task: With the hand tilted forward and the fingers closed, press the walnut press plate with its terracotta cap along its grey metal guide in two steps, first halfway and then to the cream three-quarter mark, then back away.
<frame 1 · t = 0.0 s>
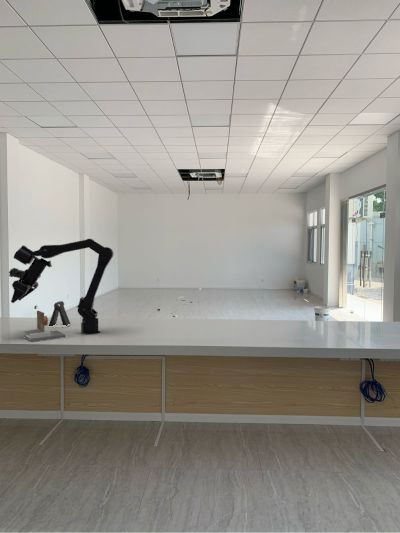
hand: (15, 301, 171), 15 cm above the table, tool tilted 35°, fingers open, 9 cm apart
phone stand: (59, 326, 192), on the table
press plate: (43, 320, 167), point 7 cm above the table, slide at 0.0 cm
press base: (44, 337, 167), on the table
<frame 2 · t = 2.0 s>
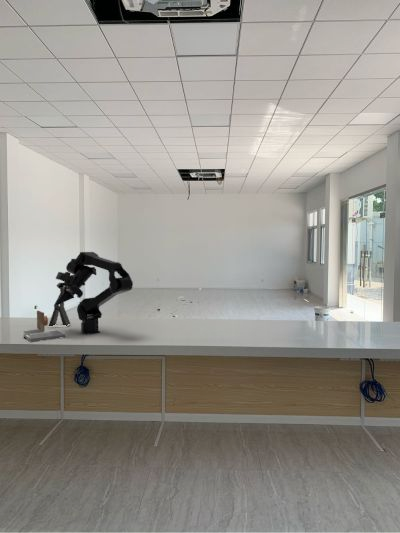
hand: (55, 304, 170), 14 cm above the table, tool tilted 45°, fingers closed
nothing on the table moved.
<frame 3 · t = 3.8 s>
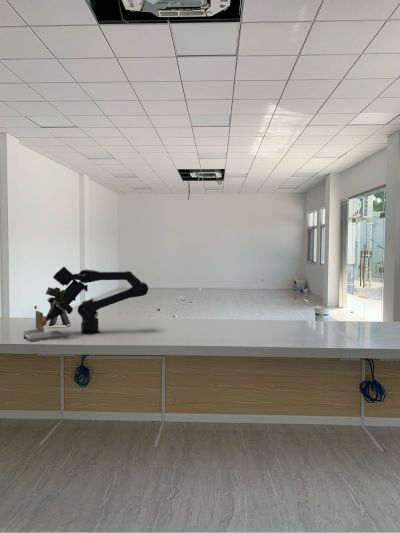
hand: (45, 320, 168), 7 cm above the table, tool tilted 45°, fingers closed, pressing on press plate
press plate: (41, 320, 167), point 7 cm above the table, slide at 0.5 cm, touching gripper
everything else where it was.
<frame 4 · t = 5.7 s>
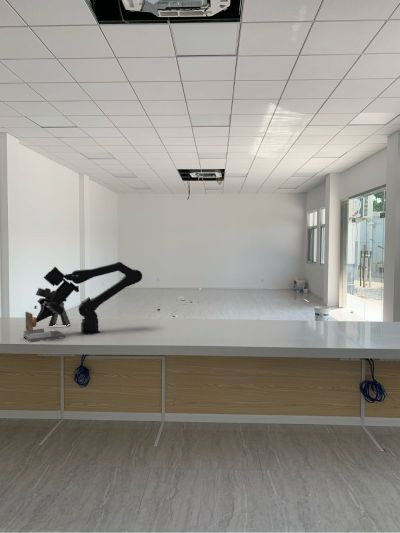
hand: (35, 321, 165), 7 cm above the table, tool tilted 45°, fingers closed, pressing on press plate
press plate: (31, 321, 164), point 7 cm above the table, slide at 4.6 cm, touching gripper
everything else where it was.
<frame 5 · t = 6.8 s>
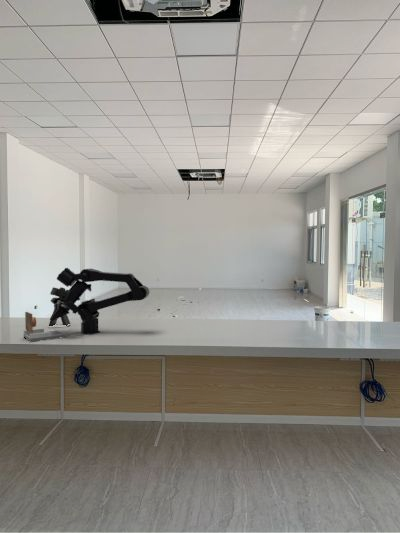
hand: (50, 320, 168), 7 cm above the table, tool tilted 45°, fingers closed
press plate: (31, 321, 164), point 7 cm above the table, slide at 4.7 cm
everything else where it was.
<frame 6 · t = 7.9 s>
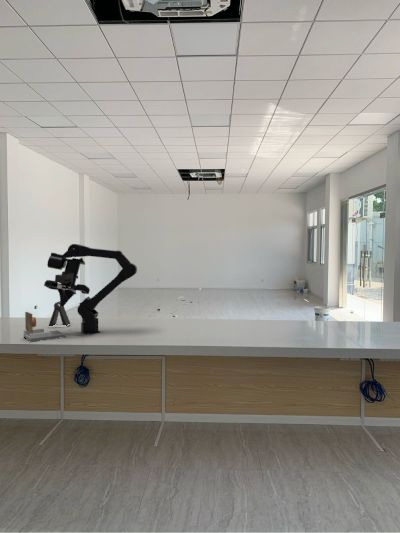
hand: (62, 306, 169), 13 cm above the table, tool tilted 20°, fingers closed
nothing on the table moved.
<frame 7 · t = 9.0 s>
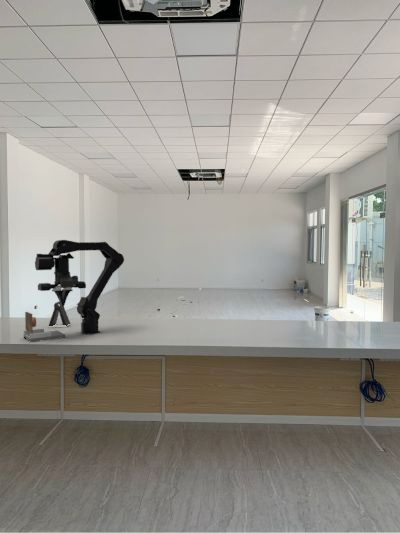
hand: (62, 306, 169), 13 cm above the table, tool pointing down, fingers closed
nothing on the table moved.
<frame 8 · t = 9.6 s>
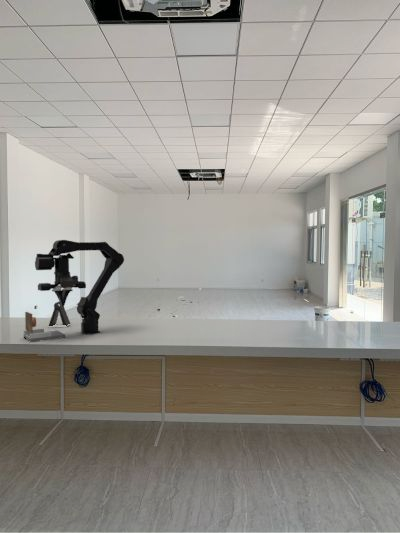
hand: (62, 306, 169), 13 cm above the table, tool pointing down, fingers closed
nothing on the table moved.
at the end: press plate slide at 4.7 cm; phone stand moved 0.3 cm from its start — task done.
